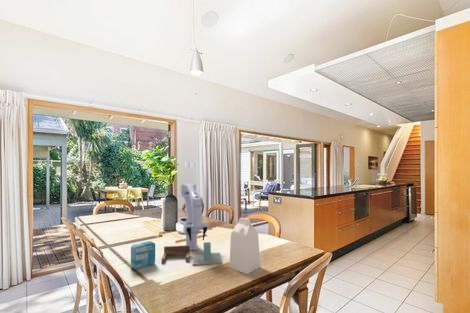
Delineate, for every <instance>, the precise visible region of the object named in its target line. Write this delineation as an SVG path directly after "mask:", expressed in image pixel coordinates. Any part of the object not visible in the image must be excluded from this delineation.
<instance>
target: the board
mask: <svg viewBox="0 0 470 313" xmlns="http://www.w3.org/2000/svg"><path fill="white" fill-rule="evenodd" d="M192 259H193V260H192V267H194V266H209V265H211V266H212V264H213V265H214V264H215V265H222V256H221V252H211V260H204V252H203V253H193V258H192Z"/></svg>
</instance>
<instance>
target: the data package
mask: <svg viewBox="0 0 470 313" xmlns="http://www.w3.org/2000/svg"><path fill="white" fill-rule="evenodd" d="M155 263H156V243H155V242H153V241H150V240H148V241H144V242H139V243H136V244H135V243H134V244H132V245H131V247H130V267H132V269H134V270H139V269H143V268H145V267H149V266H153V265H154V264H155Z"/></svg>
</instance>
